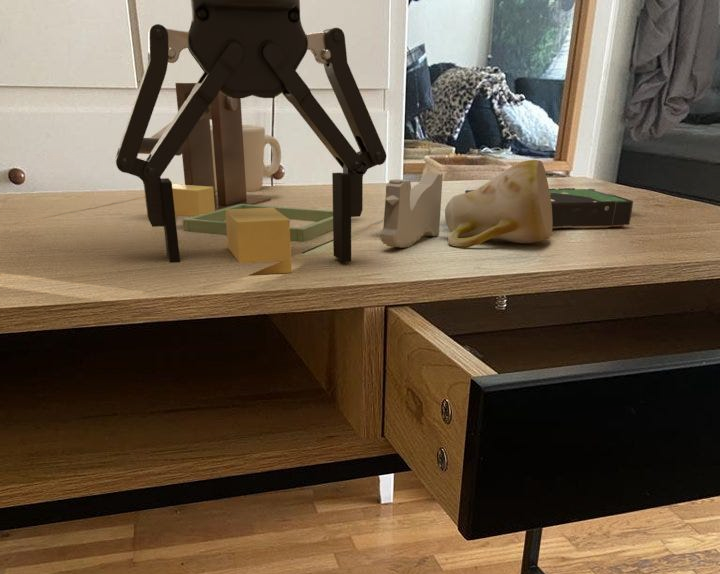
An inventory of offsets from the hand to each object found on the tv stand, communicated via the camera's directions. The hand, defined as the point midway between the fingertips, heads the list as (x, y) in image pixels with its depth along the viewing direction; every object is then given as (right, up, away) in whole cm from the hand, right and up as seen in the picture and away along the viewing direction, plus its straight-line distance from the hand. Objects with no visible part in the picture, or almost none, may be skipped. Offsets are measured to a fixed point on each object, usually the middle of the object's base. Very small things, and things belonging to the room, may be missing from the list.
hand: (261, 264), depth 61 cm
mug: (+21, +5, +10) cm, 23 cm away
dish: (0, +6, +11) cm, 12 cm away
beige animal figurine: (+13, +4, +9) cm, 16 cm away
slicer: (-8, +12, +23) cm, 27 cm away
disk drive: (+27, +10, +20) cm, 35 cm away
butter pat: (0, 0, 0) cm, 0 cm away
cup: (-6, +18, +35) cm, 40 cm away
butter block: (-10, +9, +18) cm, 22 cm away
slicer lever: (-9, +17, +15) cm, 25 cm away
